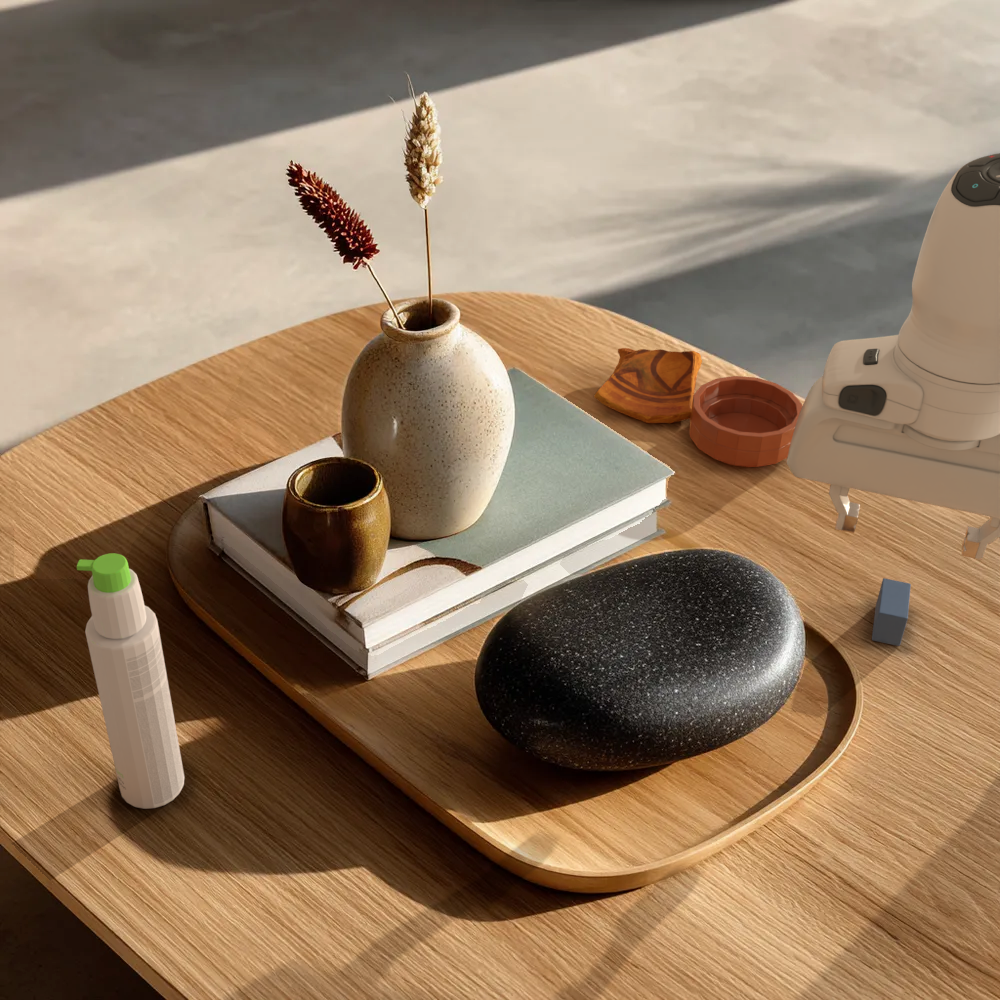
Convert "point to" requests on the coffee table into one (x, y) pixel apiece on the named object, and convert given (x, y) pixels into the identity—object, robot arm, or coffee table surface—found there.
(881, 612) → the eraser
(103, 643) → the bottle
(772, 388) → the bowl
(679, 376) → the pottery fragment
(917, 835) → the coffee table surface
